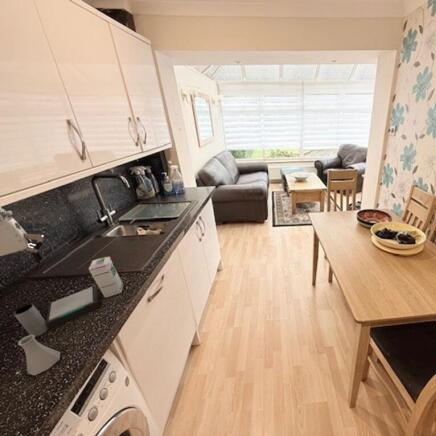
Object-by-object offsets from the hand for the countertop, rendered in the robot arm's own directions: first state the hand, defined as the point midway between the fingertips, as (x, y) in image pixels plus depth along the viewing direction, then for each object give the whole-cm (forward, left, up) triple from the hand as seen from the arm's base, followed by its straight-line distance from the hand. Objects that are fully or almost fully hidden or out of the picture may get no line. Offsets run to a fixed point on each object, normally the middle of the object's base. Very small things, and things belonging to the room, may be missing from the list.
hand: (20, 267), depth 76 cm
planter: (-2, -6, -22) cm, 23 cm away
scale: (+6, +1, -22) cm, 23 cm away
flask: (+4, -22, -22) cm, 31 cm away
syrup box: (+18, +4, -22) cm, 29 cm away
